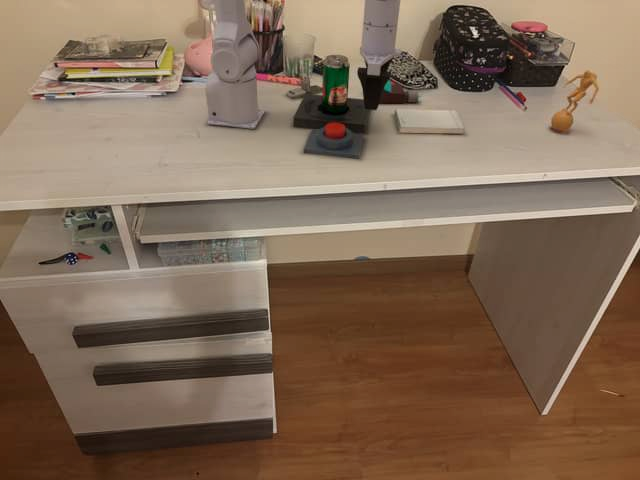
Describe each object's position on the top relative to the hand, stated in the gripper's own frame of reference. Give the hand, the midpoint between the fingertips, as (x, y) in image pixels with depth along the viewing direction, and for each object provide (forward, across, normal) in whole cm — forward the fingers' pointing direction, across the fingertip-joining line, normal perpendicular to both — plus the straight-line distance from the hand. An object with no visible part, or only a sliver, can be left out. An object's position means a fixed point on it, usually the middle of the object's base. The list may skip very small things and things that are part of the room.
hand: (372, 100), depth 93 cm
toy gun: (+7, +21, -3) cm, 22 cm away
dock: (+7, +7, +8) cm, 13 cm away
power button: (+5, -5, +6) cm, 9 cm away
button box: (+7, -5, +6) cm, 11 cm away
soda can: (+7, +7, +8) cm, 13 cm away
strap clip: (+8, +18, +16) cm, 25 cm away
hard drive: (+7, +8, -11) cm, 15 cm away
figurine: (+7, +12, -38) cm, 41 cm away
